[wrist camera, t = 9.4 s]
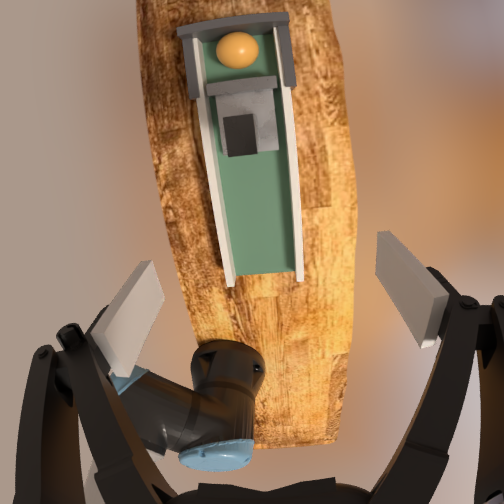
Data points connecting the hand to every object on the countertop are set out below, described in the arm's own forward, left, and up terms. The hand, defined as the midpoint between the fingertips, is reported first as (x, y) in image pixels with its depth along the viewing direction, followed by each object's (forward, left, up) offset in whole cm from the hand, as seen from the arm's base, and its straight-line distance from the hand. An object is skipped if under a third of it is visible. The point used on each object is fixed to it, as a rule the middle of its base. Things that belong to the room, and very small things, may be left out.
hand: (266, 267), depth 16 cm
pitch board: (+3, +3, -25) cm, 25 cm away
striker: (+7, +5, -23) cm, 25 cm away
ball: (+15, +8, -21) cm, 27 cm away
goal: (+14, +7, -25) cm, 29 cm away
